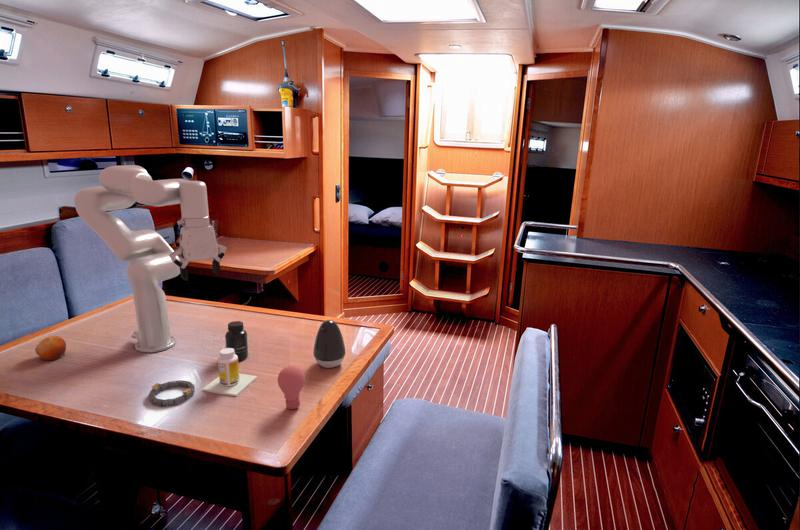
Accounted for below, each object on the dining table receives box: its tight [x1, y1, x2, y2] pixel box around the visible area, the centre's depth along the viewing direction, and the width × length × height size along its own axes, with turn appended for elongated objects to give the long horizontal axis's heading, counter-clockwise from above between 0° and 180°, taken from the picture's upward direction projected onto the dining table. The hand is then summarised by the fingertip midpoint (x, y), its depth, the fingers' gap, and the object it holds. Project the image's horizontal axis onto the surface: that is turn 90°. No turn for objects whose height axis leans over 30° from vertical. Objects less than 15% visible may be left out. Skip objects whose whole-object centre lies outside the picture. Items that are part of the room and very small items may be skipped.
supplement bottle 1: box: [224, 320, 249, 362], centre depth 154 cm, size 7×7×12 cm
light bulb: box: [277, 365, 306, 410], centre depth 126 cm, size 7×7×12 cm
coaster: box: [202, 372, 258, 397], centre depth 138 cm, size 11×11×1 cm
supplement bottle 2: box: [217, 347, 240, 386], centre depth 137 cm, size 6×6×10 cm
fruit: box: [34, 335, 67, 361], centre depth 152 cm, size 8×8×8 cm
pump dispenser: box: [313, 319, 346, 369], centre depth 150 cm, size 10×10×15 cm
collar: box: [147, 379, 196, 408], centre depth 131 cm, size 11×11×2 cm
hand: (201, 276), depth 146 cm, fingers open, 9 cm apart
